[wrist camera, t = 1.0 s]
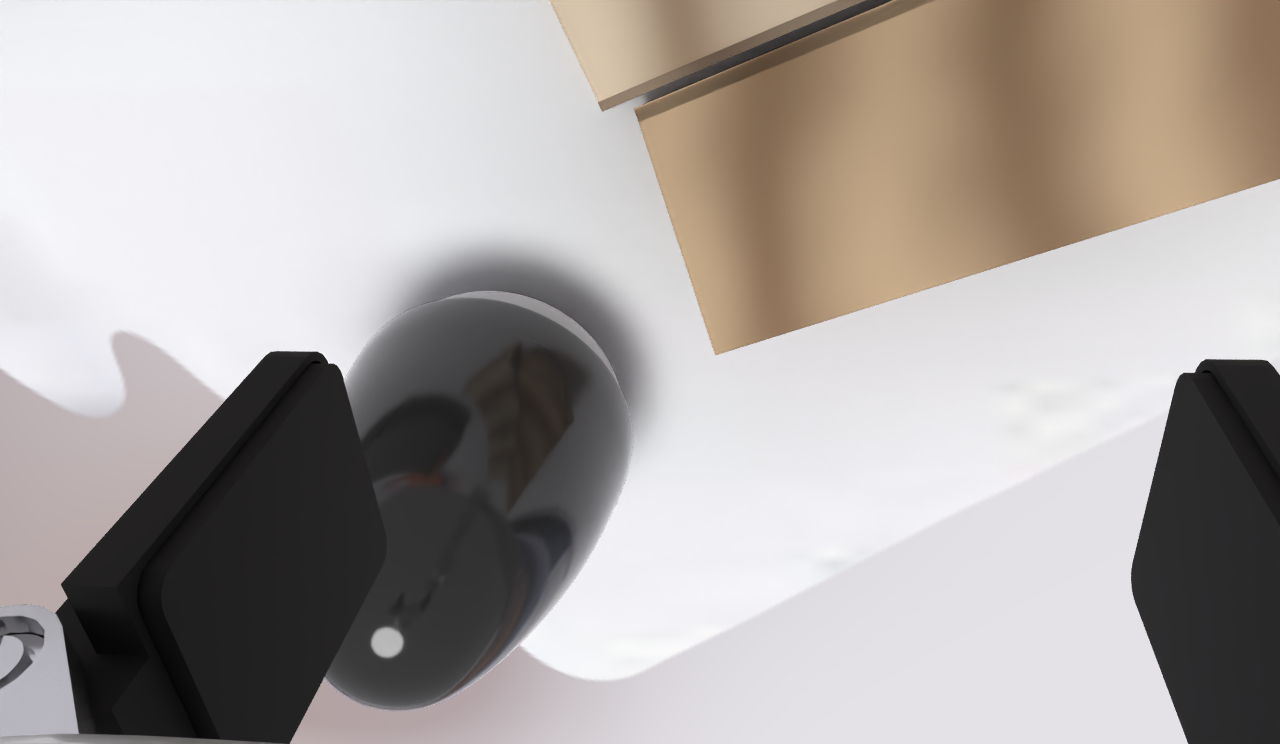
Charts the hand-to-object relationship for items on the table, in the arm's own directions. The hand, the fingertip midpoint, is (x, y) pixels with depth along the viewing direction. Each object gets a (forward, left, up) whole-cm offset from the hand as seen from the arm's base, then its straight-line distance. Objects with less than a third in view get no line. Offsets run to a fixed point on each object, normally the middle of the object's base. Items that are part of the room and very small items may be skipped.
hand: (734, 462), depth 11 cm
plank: (-6, +5, -20) cm, 21 cm away
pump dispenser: (+14, +8, -22) cm, 28 cm away
